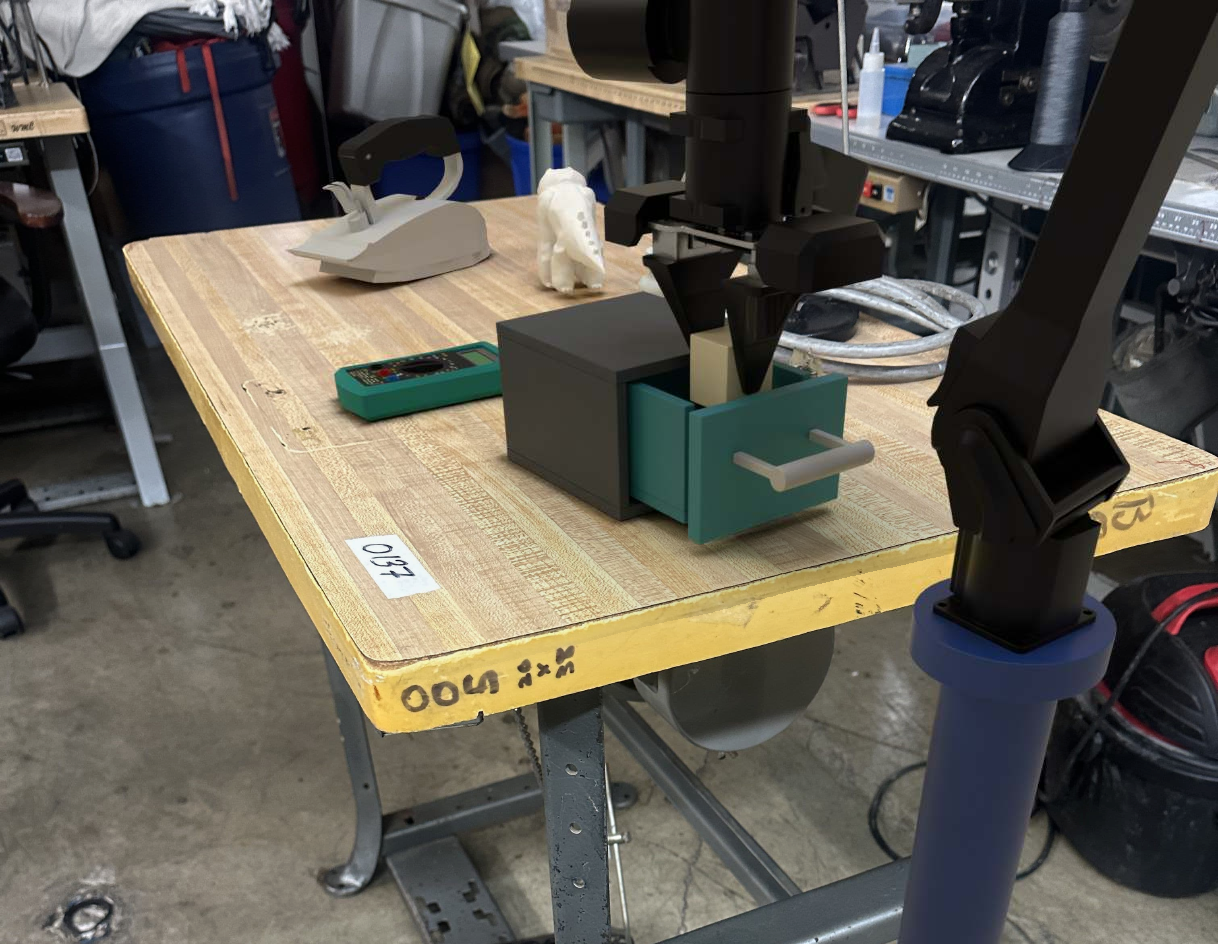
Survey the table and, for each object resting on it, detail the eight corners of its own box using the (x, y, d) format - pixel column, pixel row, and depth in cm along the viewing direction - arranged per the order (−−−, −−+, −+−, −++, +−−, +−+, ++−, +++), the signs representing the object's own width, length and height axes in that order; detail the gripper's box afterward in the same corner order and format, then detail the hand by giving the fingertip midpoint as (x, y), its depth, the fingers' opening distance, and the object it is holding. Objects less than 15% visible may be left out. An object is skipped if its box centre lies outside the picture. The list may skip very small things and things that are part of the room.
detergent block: (771, 402, 72) (774, 335, 69) (725, 415, 70) (727, 346, 68) (734, 388, 74) (736, 323, 72) (689, 400, 73) (690, 333, 70)
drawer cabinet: (767, 475, 81) (774, 332, 76) (620, 521, 76) (615, 371, 70) (645, 420, 91) (643, 290, 85) (507, 458, 86) (495, 321, 80)
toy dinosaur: (581, 266, 133) (576, 156, 126) (640, 319, 115) (638, 193, 108) (523, 271, 132) (515, 161, 125) (573, 326, 113) (567, 199, 107)
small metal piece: (767, 378, 99) (769, 342, 97) (791, 374, 99) (793, 338, 97) (803, 398, 94) (805, 361, 92) (828, 394, 95) (831, 357, 93)
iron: (291, 285, 130) (262, 132, 121) (449, 244, 145) (434, 104, 136) (353, 298, 125) (328, 139, 116) (511, 254, 139) (499, 109, 130)
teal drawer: (892, 522, 72) (908, 396, 68) (751, 573, 67) (757, 440, 63) (708, 441, 85) (711, 330, 80) (578, 479, 80) (572, 362, 75)
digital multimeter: (330, 401, 98) (324, 365, 96) (492, 369, 103) (488, 335, 101) (359, 426, 92) (353, 389, 91) (527, 392, 98) (524, 356, 96)
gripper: (977, 86, 59) (936, 395, 69) (743, 66, 72) (735, 329, 81) (815, 109, 55) (794, 437, 64) (594, 83, 67) (604, 361, 76)
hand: (730, 385), depth 72 cm, fingers closed on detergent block, 4 cm apart
